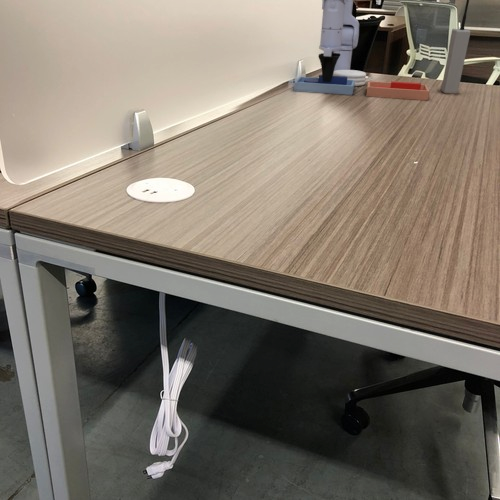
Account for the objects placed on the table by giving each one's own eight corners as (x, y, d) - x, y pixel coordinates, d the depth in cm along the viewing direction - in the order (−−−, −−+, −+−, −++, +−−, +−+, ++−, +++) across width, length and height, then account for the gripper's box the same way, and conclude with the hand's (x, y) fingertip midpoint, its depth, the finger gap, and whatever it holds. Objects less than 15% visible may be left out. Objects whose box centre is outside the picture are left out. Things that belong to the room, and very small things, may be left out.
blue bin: (299, 84, 151) (299, 76, 149) (354, 88, 147) (355, 80, 146) (293, 90, 142) (294, 82, 141) (352, 95, 139) (353, 85, 138)
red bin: (367, 89, 147) (368, 81, 146) (425, 93, 144) (426, 84, 143) (366, 96, 138) (367, 86, 137) (427, 100, 135) (429, 91, 134)
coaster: (325, 81, 157) (326, 70, 155) (352, 80, 161) (353, 68, 159) (344, 87, 149) (345, 75, 147) (371, 85, 153) (373, 73, 151)
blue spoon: (302, 86, 143) (303, 75, 142) (304, 83, 147) (305, 73, 146) (345, 89, 141) (347, 78, 140) (346, 86, 145) (348, 75, 144)
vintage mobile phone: (452, 90, 149) (472, -4, 137) (457, 94, 144) (478, -4, 133) (439, 90, 149) (458, -5, 137) (444, 93, 145) (463, -5, 133)
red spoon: (374, 93, 140) (375, 81, 138) (374, 90, 144) (375, 79, 142) (419, 96, 138) (421, 84, 136) (418, 93, 141) (420, 82, 140)
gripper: (345, 31, 130) (339, 85, 136) (348, 27, 143) (343, 77, 149) (317, 29, 131) (313, 84, 138) (323, 26, 144) (319, 76, 150)
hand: (327, 80), depth 143 cm, fingers closed on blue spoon
